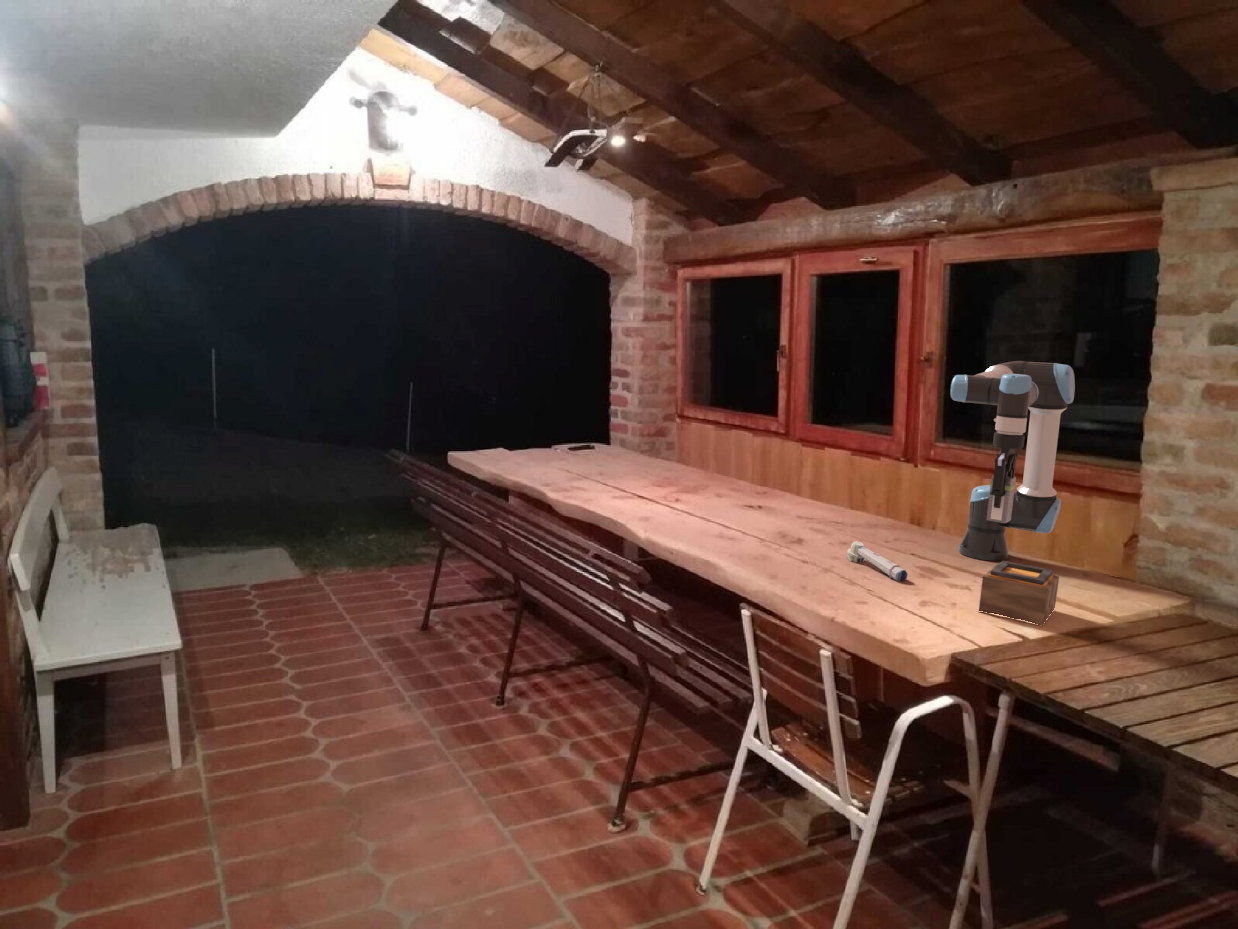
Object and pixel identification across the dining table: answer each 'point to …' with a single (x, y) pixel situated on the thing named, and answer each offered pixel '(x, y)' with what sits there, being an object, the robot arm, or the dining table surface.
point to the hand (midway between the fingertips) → (999, 517)
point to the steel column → (1007, 500)
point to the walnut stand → (1019, 592)
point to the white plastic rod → (875, 561)
